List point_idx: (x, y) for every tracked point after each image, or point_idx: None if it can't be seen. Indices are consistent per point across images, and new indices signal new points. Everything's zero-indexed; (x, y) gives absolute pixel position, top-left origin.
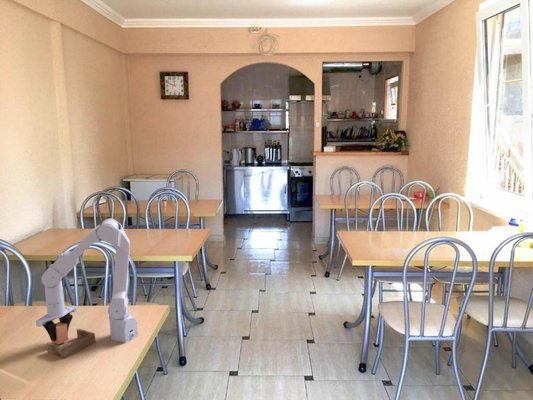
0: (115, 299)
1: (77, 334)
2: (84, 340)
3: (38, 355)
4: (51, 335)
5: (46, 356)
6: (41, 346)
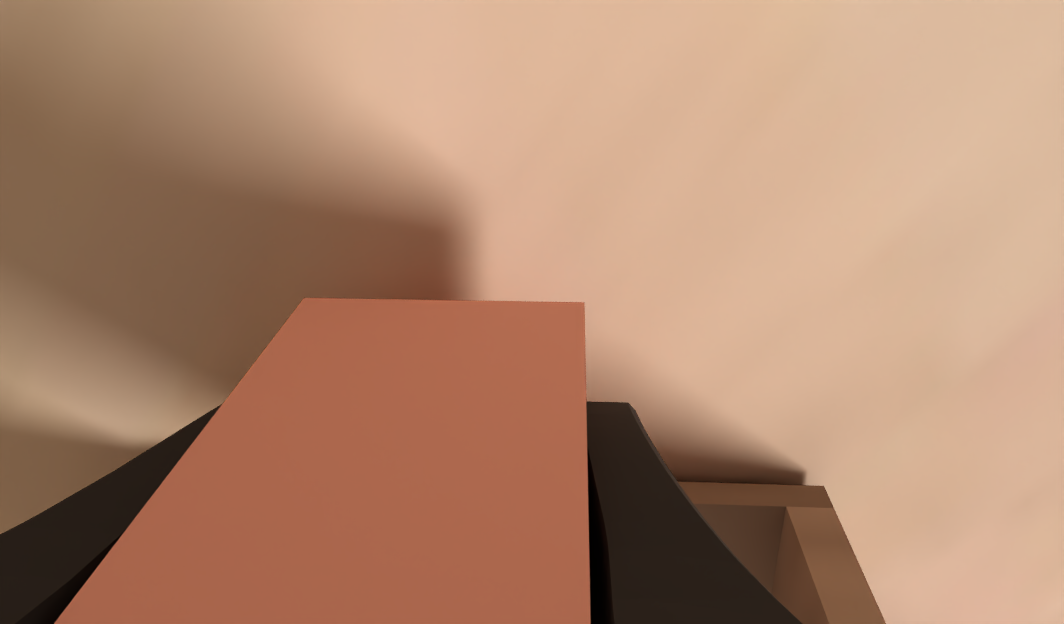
0: None
1: (804, 576)
2: None
3: (3, 335)
4: None
5: (94, 481)
6: (196, 34)
